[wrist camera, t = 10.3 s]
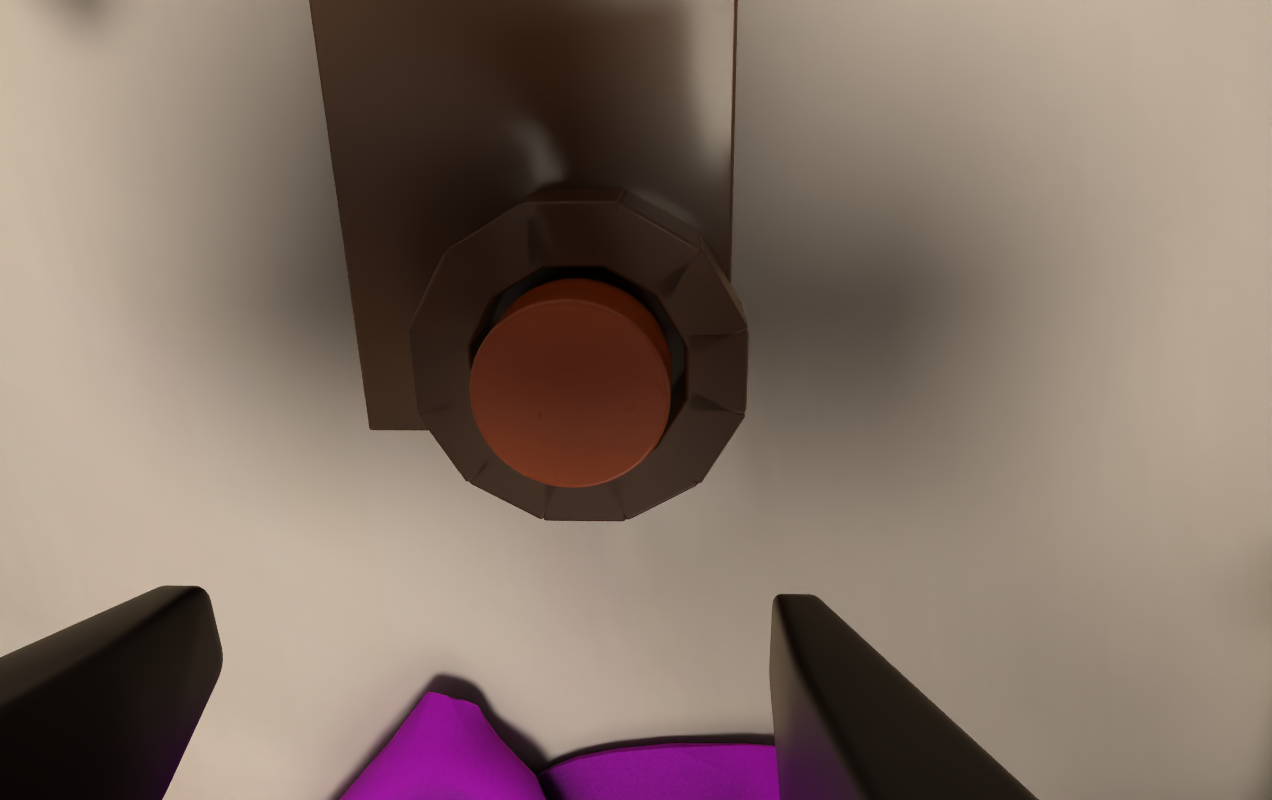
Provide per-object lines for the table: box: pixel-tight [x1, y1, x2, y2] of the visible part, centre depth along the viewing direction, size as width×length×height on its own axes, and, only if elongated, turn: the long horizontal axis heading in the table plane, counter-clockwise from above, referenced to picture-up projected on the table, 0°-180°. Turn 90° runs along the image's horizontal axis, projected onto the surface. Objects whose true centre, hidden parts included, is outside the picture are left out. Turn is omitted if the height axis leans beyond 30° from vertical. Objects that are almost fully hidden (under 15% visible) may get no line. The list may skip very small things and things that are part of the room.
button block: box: [309, 0, 749, 521], centre depth 17 cm, size 10×8×4 cm
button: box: [469, 278, 672, 488], centre depth 16 cm, size 4×4×2 cm
